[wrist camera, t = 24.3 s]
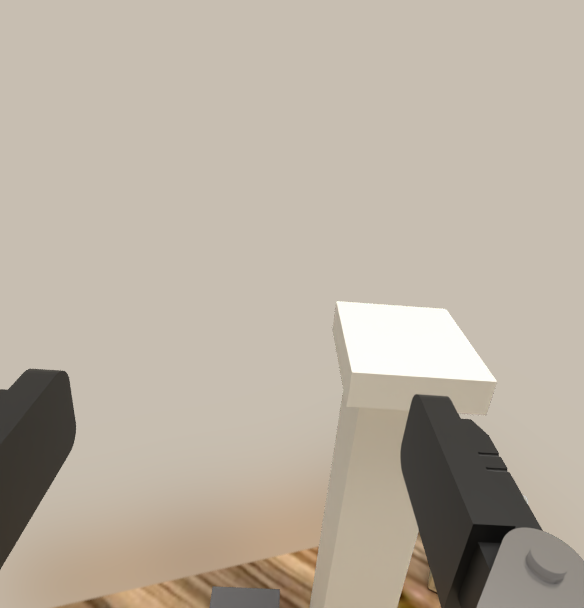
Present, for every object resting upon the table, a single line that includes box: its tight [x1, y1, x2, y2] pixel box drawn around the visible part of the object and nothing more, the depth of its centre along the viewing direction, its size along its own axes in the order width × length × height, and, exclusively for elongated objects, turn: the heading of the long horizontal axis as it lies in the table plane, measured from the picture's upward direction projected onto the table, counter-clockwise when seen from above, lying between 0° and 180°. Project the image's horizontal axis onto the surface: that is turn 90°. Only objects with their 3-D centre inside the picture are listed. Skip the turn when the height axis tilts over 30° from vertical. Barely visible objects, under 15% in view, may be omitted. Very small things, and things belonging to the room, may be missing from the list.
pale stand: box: [310, 301, 497, 608], centre depth 33 cm, size 8×7×33 cm
